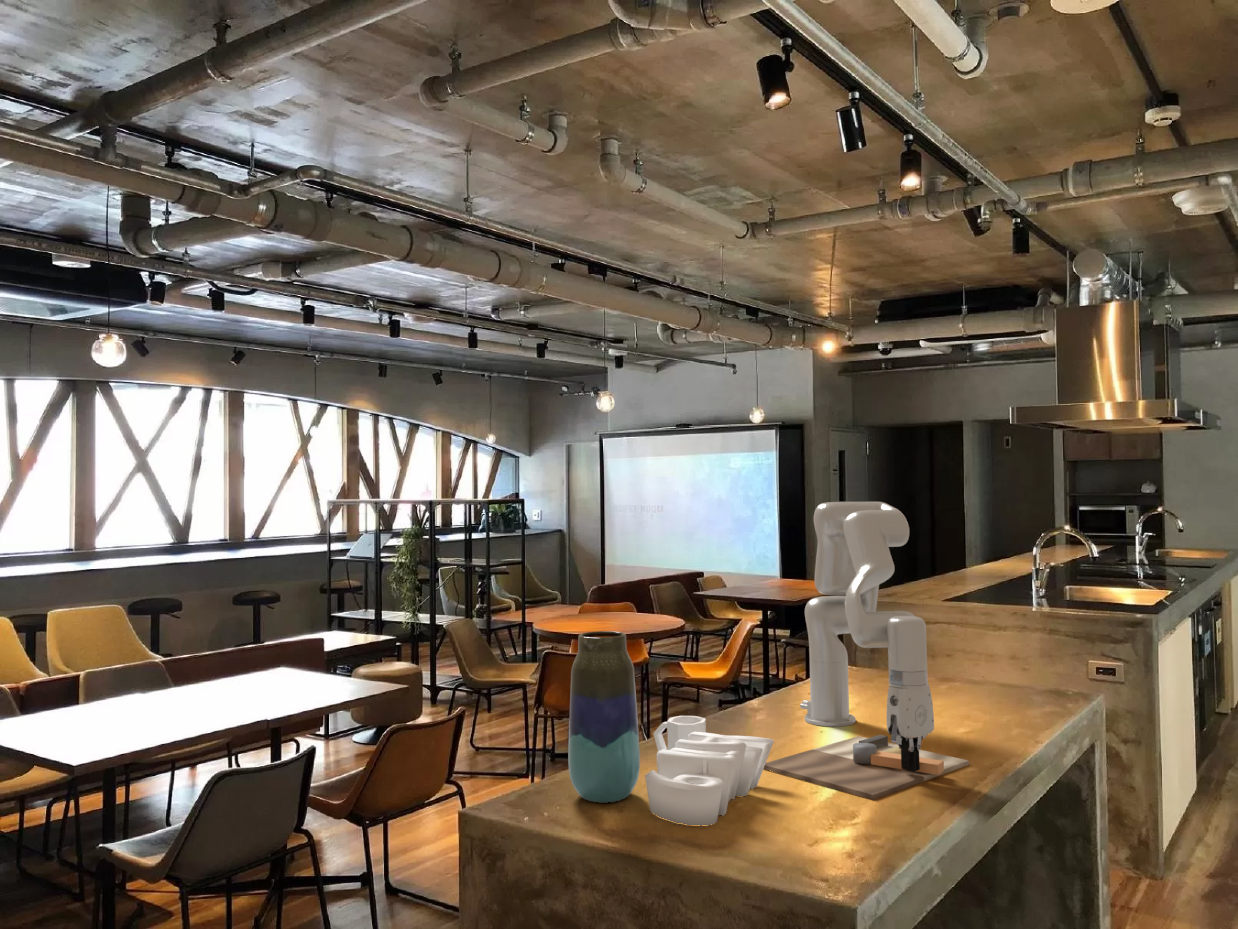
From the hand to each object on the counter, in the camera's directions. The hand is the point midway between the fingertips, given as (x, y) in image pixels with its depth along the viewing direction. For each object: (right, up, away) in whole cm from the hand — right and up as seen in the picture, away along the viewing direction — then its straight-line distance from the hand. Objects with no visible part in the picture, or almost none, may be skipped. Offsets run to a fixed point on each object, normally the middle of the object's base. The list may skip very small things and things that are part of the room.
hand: (910, 769), depth 191 cm
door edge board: (-7, -3, +9) cm, 12 cm away
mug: (-46, -3, +13) cm, 48 cm away
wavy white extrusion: (-42, -3, -12) cm, 43 cm away
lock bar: (-1, -1, +5) cm, 6 cm away
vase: (-62, -3, -8) cm, 62 cm away
